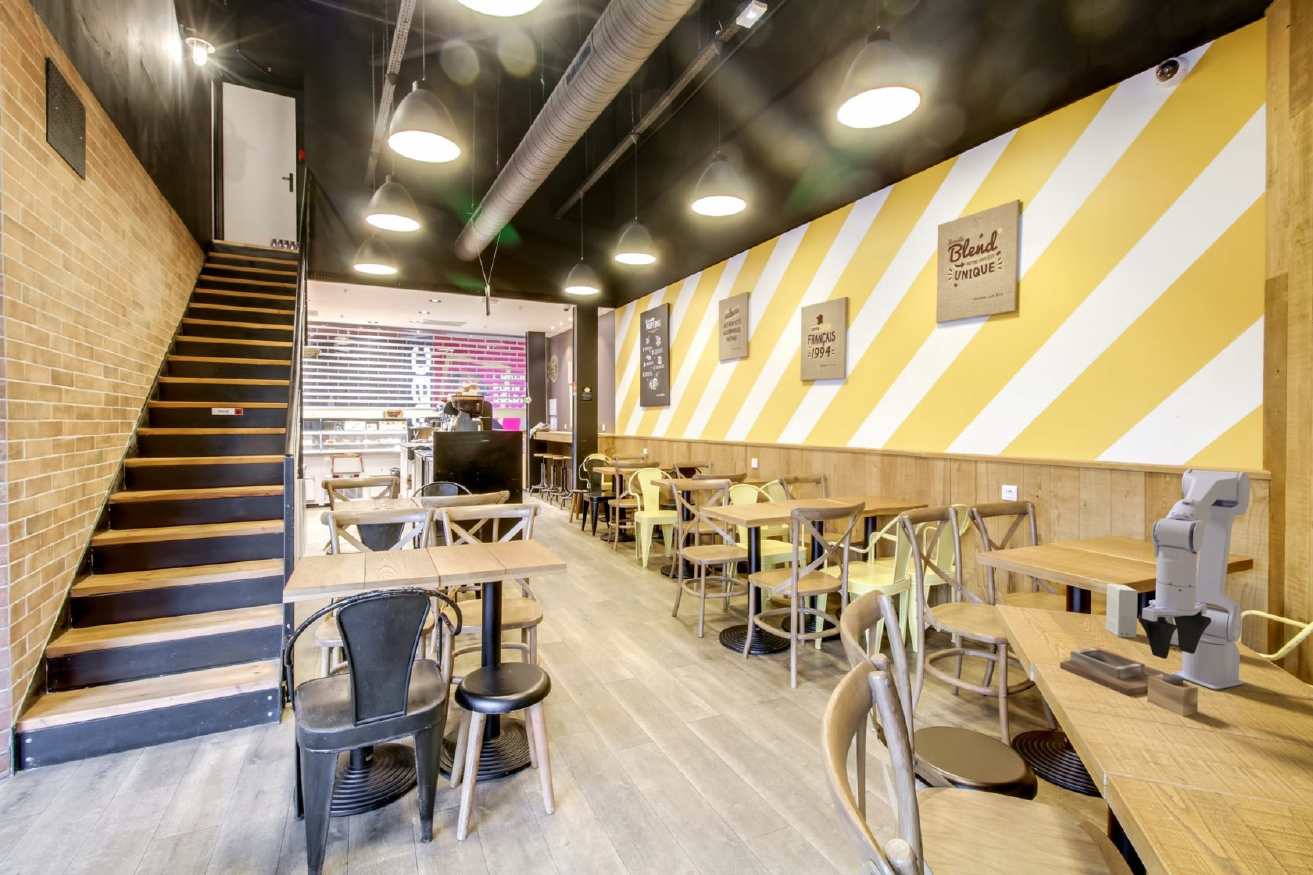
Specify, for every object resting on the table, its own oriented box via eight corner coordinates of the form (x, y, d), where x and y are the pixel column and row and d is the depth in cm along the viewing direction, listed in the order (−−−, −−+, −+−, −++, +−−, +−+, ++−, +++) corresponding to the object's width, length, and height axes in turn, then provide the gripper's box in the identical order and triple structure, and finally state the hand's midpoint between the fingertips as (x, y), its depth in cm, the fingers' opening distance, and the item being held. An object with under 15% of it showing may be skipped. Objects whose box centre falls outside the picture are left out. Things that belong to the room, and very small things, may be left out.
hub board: (1112, 658, 137) (1112, 644, 137) (1182, 684, 124) (1182, 668, 124) (1060, 667, 132) (1060, 652, 132) (1127, 695, 119) (1127, 678, 119)
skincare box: (1137, 638, 150) (1138, 590, 150) (1117, 637, 151) (1119, 589, 151) (1123, 630, 156) (1124, 584, 156) (1105, 628, 157) (1106, 583, 157)
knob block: (1162, 699, 118) (1162, 669, 118) (1197, 713, 112) (1198, 682, 112) (1147, 702, 116) (1148, 672, 116) (1182, 716, 111) (1183, 685, 111)
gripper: (1177, 574, 119) (1175, 642, 120) (1126, 580, 115) (1124, 650, 115) (1220, 584, 113) (1218, 655, 113) (1167, 590, 108) (1165, 665, 109)
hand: (1173, 654), depth 114 cm, fingers open, 7 cm apart
